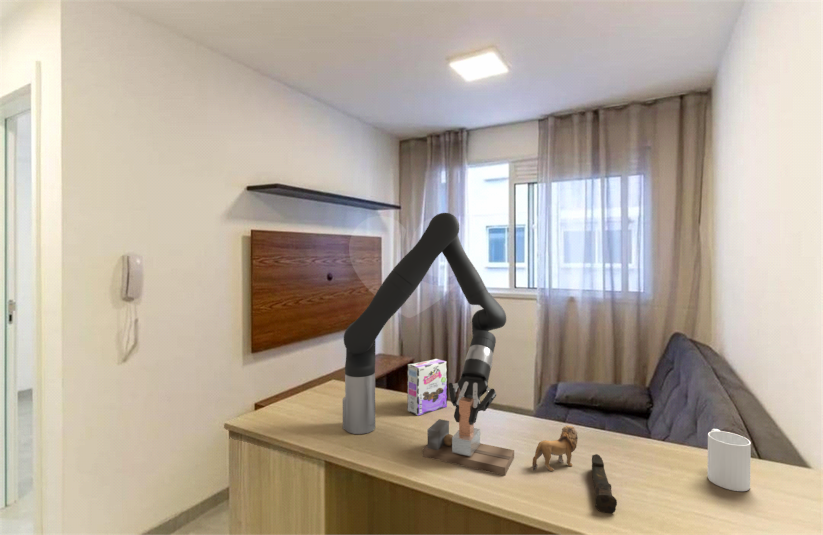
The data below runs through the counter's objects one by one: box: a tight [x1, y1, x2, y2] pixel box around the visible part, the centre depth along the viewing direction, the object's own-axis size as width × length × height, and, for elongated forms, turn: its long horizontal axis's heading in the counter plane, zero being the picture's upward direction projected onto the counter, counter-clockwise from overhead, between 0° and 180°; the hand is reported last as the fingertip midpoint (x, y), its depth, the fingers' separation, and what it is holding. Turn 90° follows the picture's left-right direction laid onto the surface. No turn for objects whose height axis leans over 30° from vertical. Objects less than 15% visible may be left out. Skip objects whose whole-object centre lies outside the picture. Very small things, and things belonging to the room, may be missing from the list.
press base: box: [422, 418, 515, 477], centre depth 108 cm, size 22×10×7 cm, turn 63°
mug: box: [707, 428, 752, 492], centre depth 97 cm, size 12×8×10 cm, turn 164°
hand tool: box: [591, 453, 618, 514], centre depth 93 cm, size 19×4×5 cm, turn 159°
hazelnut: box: [444, 433, 454, 446], centre depth 110 cm, size 3×3×3 cm
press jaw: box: [452, 397, 481, 457], centre depth 108 cm, size 5×8×13 cm, turn 153°
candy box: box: [406, 358, 448, 416], centre depth 143 cm, size 14×6×16 cm, turn 129°
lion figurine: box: [531, 424, 579, 472], centre depth 103 cm, size 15×5×9 cm, turn 119°
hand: (463, 422), depth 106 cm, fingers closed on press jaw, 3 cm apart
